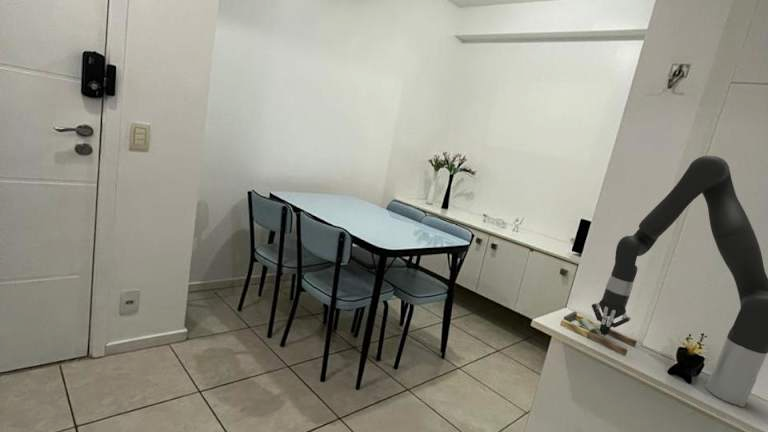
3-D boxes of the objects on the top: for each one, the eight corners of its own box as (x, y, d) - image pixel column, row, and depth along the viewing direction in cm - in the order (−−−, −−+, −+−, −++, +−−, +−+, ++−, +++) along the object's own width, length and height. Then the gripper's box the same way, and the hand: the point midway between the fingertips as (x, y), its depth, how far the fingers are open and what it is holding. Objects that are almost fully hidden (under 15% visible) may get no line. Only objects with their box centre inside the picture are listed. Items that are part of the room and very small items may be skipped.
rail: (635, 345, 143) (638, 338, 142) (624, 356, 133) (627, 348, 133) (573, 317, 158) (576, 310, 157) (560, 324, 148) (562, 317, 147)
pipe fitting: (595, 330, 151) (577, 325, 151) (599, 321, 150) (581, 316, 150) (604, 341, 143) (586, 336, 143) (609, 332, 142) (590, 326, 142)
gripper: (641, 296, 139) (625, 340, 142) (601, 281, 147) (587, 323, 151) (636, 299, 133) (619, 346, 137) (595, 284, 142) (580, 327, 146)
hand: (603, 334), depth 144 cm, fingers closed
